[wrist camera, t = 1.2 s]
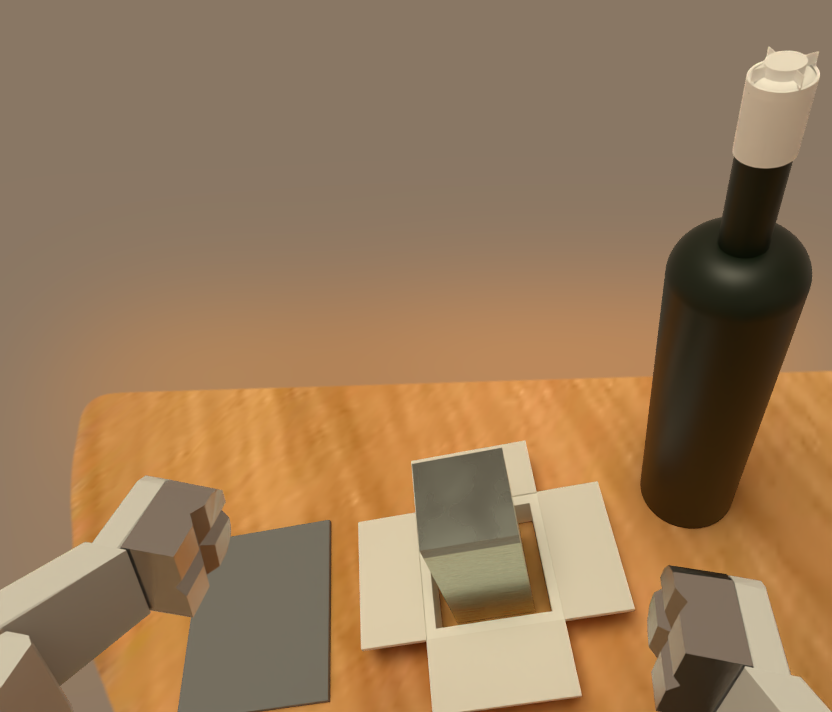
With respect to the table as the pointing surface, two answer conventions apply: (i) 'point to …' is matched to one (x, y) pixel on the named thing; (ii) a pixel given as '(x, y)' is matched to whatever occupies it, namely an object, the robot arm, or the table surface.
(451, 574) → the tea tin
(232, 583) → the mat
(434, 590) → the carton
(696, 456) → the wine bottle
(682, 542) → the table surface
